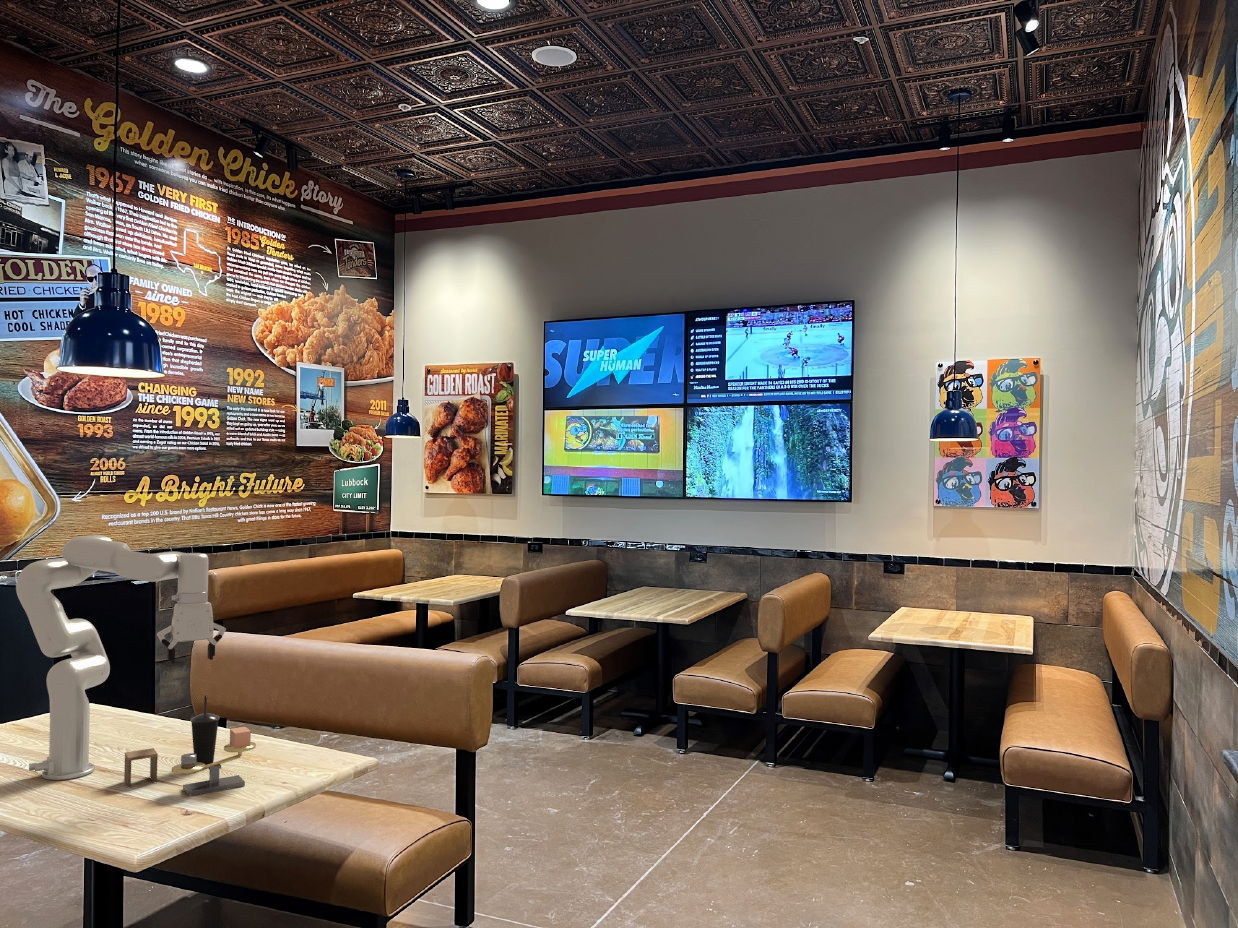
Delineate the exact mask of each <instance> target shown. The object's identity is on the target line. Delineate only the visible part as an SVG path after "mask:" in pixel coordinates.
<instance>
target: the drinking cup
mask: <svg viewBox="0 0 1238 928" xmlns="http://www.w3.org/2000/svg"><path fill="white" fill-rule="evenodd" d="M203 697H204V700H203V712H202V713H200V714H197V715H195V716H193V717H191V718H190V723H191V731H192V733H191V736H192V748H193V753H194V754H196V762H200V763H204V764H205V765H208V764H211V763H214V762H215V761H214V760H215V751H216V743H217V734H218V727H219V720H220V719H221V718H220V716H219V715H218V714H214V713H212V712H211V713H210V712H209V713H208V711H207V709H208V708H207V706H208V705H207V704H208V696H207V695H204V696H203Z"/></svg>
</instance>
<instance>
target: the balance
mask: <svg viewBox="0 0 1238 928" xmlns="http://www.w3.org/2000/svg"><path fill="white" fill-rule="evenodd" d="M256 747H257V743H256V742H254V741H251V742H250V746H247V747H241V748H234V747H233V746H232V745H231V744H230V743H228V744H225V745H224V746H223V750H224V751H225V752H227V753H237V754H235V755H233V756H230V757H229V756H228V757H227V758H223V759H221V760H217V761H214V762H213V763H211V764H208V765H205V764H204V763H200V762H196V754H194V752H191V753H184V754H181V756H180V763H179V764H176V765H174V766H172V767H171V773H172V774H176V775H192V774H195V773H198V772H202V771H204V770H207V769H208V770H209V775H208V776H209V779H208V780H203V781H195V782H193V783H186V784H182V790H183V792H184V793H185V792H186V793H187V794H186V793H185V794H186V795H187V797H190V796H189V795H193V796H197V795H203V794H202V793H204V794H208V792H209V793H214V792H218V791H219V790H220V791H224V789H226V790H228V789H227V788H231V789H235V788H234V787H237V788H242V787H245V786H246V784H245V783H246V781H245V779H243V778H242V777H241V776H240V775H239V774H238V775H232V776H226V777H220V769H222V764H225V763H228V762H232V761H235V760H237V759H240V758H241V757H242V756H243V754H242V753H244V752H248V751H251V750H254V749H256ZM200 793H201V794H200Z"/></svg>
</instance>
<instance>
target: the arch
mask: <svg viewBox="0 0 1238 928" xmlns="http://www.w3.org/2000/svg"><path fill="white" fill-rule="evenodd" d="M143 759H150V760H149V761H150V764H149V778H150V777H151V778H150V779H151V781H152V780H153V781H152V782H153V783H154V782H158V752H157V751H156V749H155V748H153V747H152V748H146V749H139V750H138V749H137V750H132V751H125V752H124V779H123V781H124V784H125V786H126V787H127V788H131V786H132V762H133V761H137V760H143Z"/></svg>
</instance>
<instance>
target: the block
mask: <svg viewBox="0 0 1238 928" xmlns="http://www.w3.org/2000/svg"><path fill="white" fill-rule="evenodd" d="M251 733H252V732H251V730H250V729H249V728H248V727H247V726H241V727H234V728H233V727H232V728H230V729H229V744H231V745H232V746H233V747H234V748H241V747H247V746H250V742H252V741H251V737H252V736H251V735H252V734H251Z"/></svg>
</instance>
